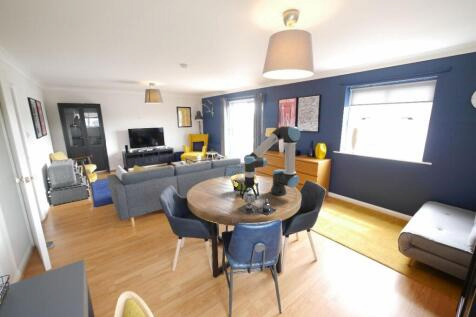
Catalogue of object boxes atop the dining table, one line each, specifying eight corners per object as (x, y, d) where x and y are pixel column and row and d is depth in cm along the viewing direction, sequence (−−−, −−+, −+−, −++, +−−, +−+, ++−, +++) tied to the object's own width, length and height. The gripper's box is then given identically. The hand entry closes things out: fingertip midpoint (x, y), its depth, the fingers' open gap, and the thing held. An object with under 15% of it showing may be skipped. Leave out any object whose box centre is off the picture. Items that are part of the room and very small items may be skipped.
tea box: (251, 192, 197) (251, 178, 194) (247, 196, 188) (247, 181, 185) (237, 190, 203) (237, 176, 200) (233, 193, 194) (233, 179, 191)
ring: (244, 198, 164) (244, 193, 163) (254, 199, 163) (254, 193, 162) (244, 202, 156) (244, 196, 155) (254, 203, 155) (254, 197, 154)
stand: (265, 205, 167) (265, 194, 165) (277, 210, 158) (277, 199, 156) (255, 210, 159) (255, 198, 157) (267, 215, 150) (267, 203, 148)
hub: (249, 203, 171) (249, 193, 169) (261, 209, 161) (261, 197, 159) (237, 208, 162) (237, 197, 160) (249, 214, 152) (249, 203, 150)
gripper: (235, 177, 153) (236, 204, 158) (262, 178, 151) (262, 205, 155) (236, 174, 161) (237, 201, 165) (262, 175, 158) (262, 202, 163)
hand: (249, 203), depth 160 cm, fingers closed on ring, 8 cm apart
